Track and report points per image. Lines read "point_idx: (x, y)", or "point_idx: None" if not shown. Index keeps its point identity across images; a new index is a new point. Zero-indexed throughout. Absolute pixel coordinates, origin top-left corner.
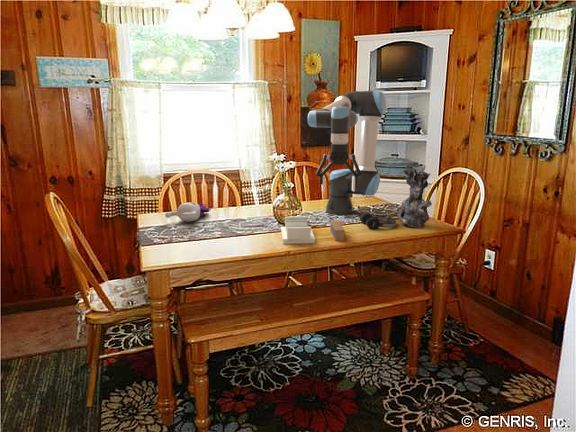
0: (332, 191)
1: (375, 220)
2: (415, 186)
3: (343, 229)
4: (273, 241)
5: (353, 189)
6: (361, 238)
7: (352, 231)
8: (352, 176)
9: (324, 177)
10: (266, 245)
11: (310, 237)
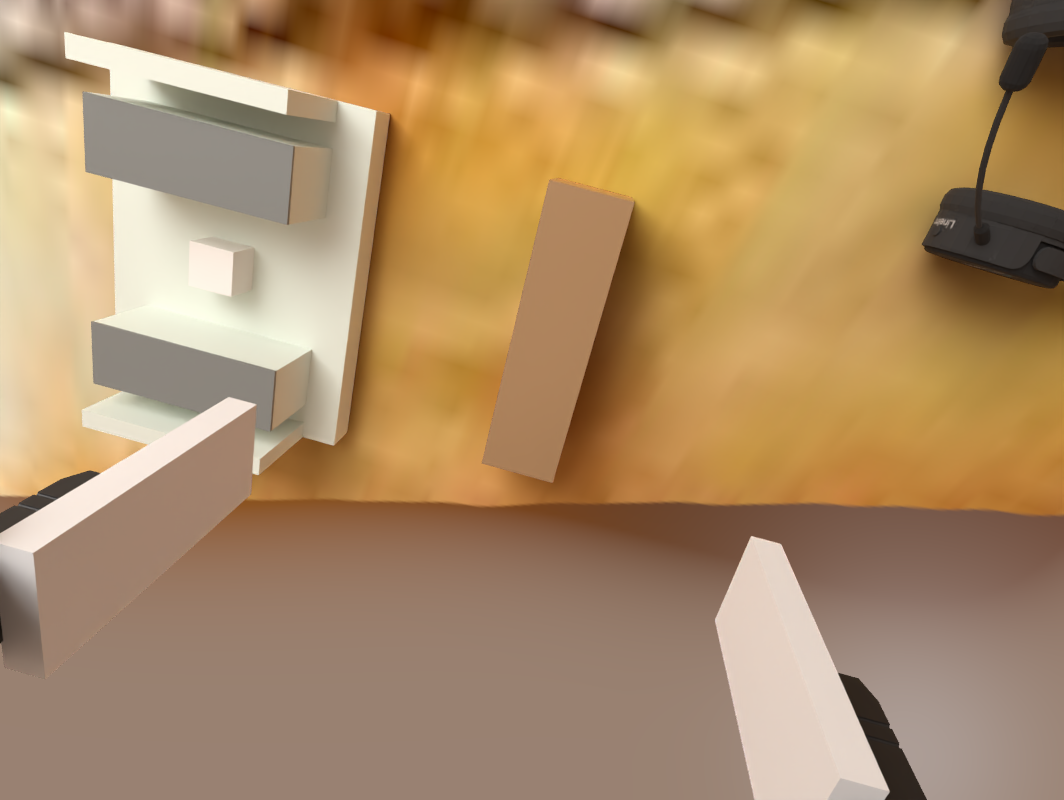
0: None
1: (1029, 281)
2: None
3: (552, 467)
4: (80, 308)
5: (727, 647)
6: (703, 449)
7: (737, 261)
8: (823, 793)
9: (43, 677)
10: (39, 372)
11: (298, 440)
